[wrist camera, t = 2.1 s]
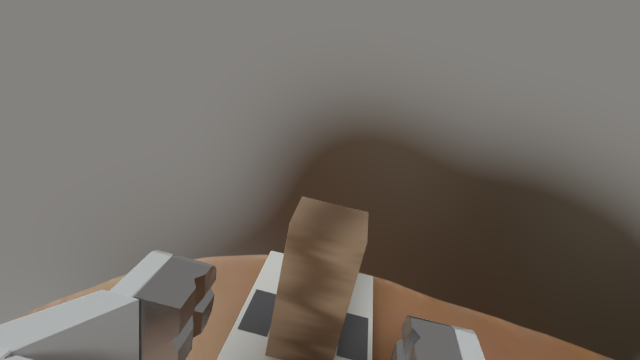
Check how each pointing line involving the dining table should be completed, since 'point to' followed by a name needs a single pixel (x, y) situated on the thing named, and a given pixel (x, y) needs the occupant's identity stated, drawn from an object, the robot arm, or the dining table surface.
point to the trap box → (256, 315)
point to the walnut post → (316, 280)
